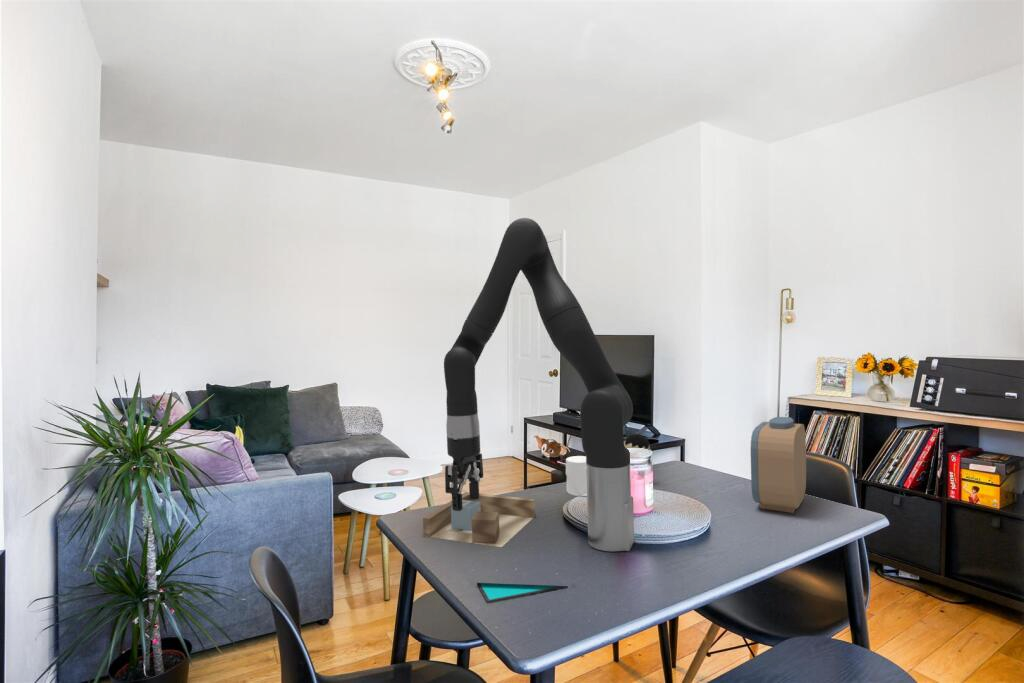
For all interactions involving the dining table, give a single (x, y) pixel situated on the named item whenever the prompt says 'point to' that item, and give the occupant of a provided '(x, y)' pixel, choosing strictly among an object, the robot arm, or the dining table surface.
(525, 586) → the flat teal bar
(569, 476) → the mug
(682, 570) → the dining table surface
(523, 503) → the tray
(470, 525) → the block
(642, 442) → the toy
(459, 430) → the robot arm
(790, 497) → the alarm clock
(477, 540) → the walnut block
